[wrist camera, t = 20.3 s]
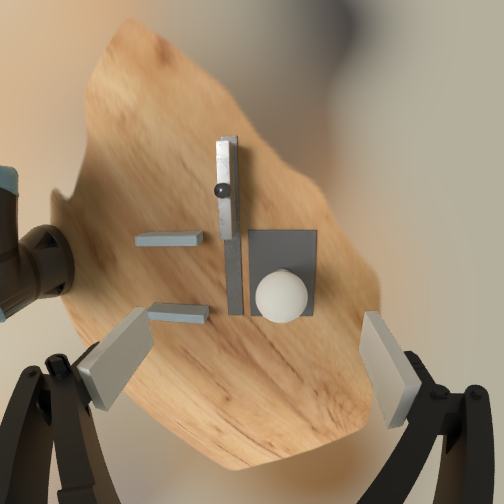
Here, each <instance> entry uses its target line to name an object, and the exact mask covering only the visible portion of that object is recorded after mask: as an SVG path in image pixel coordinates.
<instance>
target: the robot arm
mask: <svg viewBox="0 0 504 504" xmlns="http://www.w3.org/2000/svg"><path fill="white" fill-rule="evenodd" d="M18 197H19V193H18V173H17V171H16V169H14V168H13V167H8V166H0V323H2V322H4V321H5V320H6V319H7V318H9V317H10V316H12V315H14V314H15V313H17V312H18V311H20V310H21V309H23V308H24V307H26V306H27V305H29V304H31V303H32V302H34V301H35V300H37V299H43V298H52V297H57V296H60V295H62V294H63V293H65V292H66V291H68V290H69V288H70V287H71V285H72V282H73V279H74V262H73V257H72V253H71V250H70V248H69V245H68V243H67V241H66V240H65V238H64V236H63V235H62V234H61V233H60V232H59V231H58V230H57V229H56V228H55V227H53V226H51V225H41V226H37V227H35V228H33V229H31V230H30V231H29V232H28V233H27V234H26V235H25V236H24V237H22V238H21V239H20V240H19V241H18ZM153 345H154V342H153V338H152V333H151V328H150V324H149V319H148V313H147V308H145V307H135V308H134V309H133V310H132V311H131V312H130V313H129V314H128V315H127V316H126V317H125V318H124V319H123V320H122V321H121V322H120V323H119V324H118V325H117V326H116V327H115V328H114V329H113V330H112V331H111V332H110V333H109V334H108V335H107V336H106V337H105V338H104V339H103V340H102V341H101V342H97V343H95V344H93V345H91V346H90V347H89V348H88V349H87V350H86V352H84V353H83V354H82V356H80V357H79V358H78V359H77V360H76V361H75V362H74V363H73V364H72V365H71V366H70V363H69V361H68V358H67V356H66V355H64V354H54V355H52V356H50V357H48V358H47V359H46V361H45V365H46V367H47V369H48V372H49V374H43V373H42V371H41V369H40V367H38V366H29V367H27V368H26V369H24V370H23V372H22V373H21V375H20V378H19V380H18V382H17V384H16V387H15V389H14V391H13V394H12V396H11V399H10V401H9V403H8V406H7V409H6V411H5V414H4V417H3V420H2V422H1V425H0V504H48V485H49V473H50V463H51V454H52V448H53V441H54V444H55V451H56V459H57V465H58V470H59V476H60V481H61V485H62V489H61V490H58V492H57V496H58V502H59V504H121V503H120V500H119V498H118V496H117V493H116V491H115V488H114V485H113V483H112V480H111V478H110V475H109V472H108V469H107V466H106V463H105V461H104V457H103V454H102V451H101V447H100V444H99V440H98V437H97V433H96V430H95V426H94V421H93V418H92V413H91V409H90V407H89V405H88V404H89V403H90V401H91V400H92V401H93V404H94V406H95V407H96V408H98V409H101V410H104V411H108V410H109V409H110V407H111V406H112V404H113V403H114V401H115V400H116V398H117V397H118V395H119V394H120V393H121V391H122V390H123V388H124V387H125V385H126V384H127V382H128V381H129V379H130V378H131V377H132V375H133V374H134V372H135V371H136V369H137V368H138V366H139V365H140V364H141V362H142V361H143V359H144V358H145V357H146V355H147V354H148V352H149V351H150V349H151V348H152V347H153ZM358 351H359V353H360V356H361V358H362V361H363V363H364V366H365V368H366V371H367V374H368V376H369V379H370V382H371V384H372V387H373V390H374V392H375V395H376V397H377V400H378V403H379V406H380V409H381V412H382V414H383V417H384V420H385V423H386V426H387V429H390V428H395V427H400V426H402V425H403V424H404V421H405V419H406V418H407V420H408V423H409V424H408V426H407V428H406V430H405V432H404V433H403V435H402V437H401V439H400V441H399V442H398V444H397V446H396V447H395V449H394V451H393V452H392V454H391V456H390V457H389V459H388V460H387V462H386V463H385V465H384V466H383V468H382V470H381V471H380V473H379V474H378V475H377V477H376V478H375V480H374V481H373V482H372V484H371V485H370V487H369V488H368V489H367V491H366V492H365V493H364V495H363V496H362V497H361V498H360V500H359V501H358V502H357V504H403V503H404V501H405V499H406V498H407V496H408V494H409V493H410V491H411V489H412V487H413V485H414V484H415V482H416V480H417V478H418V476H419V474H420V472H421V470H422V468H423V466H424V464H425V462H426V460H427V458H428V455H429V453H430V451H431V449H432V446H433V444H434V442H435V440H436V437H437V435H443V444H442V453H441V462H440V468H439V475H438V481H437V486H436V491H435V496H434V500H433V504H493V494H494V471H495V461H494V436H493V425H492V415H491V408H490V401H489V395H488V392H487V390H486V389H485V388H483V387H482V386H480V385H471V386H468V387H467V389H466V390H465V392H464V393H463V394H462V393H459V394H458V393H450V391H449V390H448V389H447V388H446V387H445V386H442V385H439V384H436V383H435V382H434V380H433V378H432V377H431V375H430V374H429V372H428V371H427V369H426V368H425V366H424V364H423V363H422V361H421V360H420V358H419V357H418V355H416V354H414V353H413V352H412V351H404V352H403V351H402V349H401V348H400V346H399V344H398V343H397V341H396V340H395V338H394V336H393V335H392V333H391V332H390V330H389V328H388V327H387V325H386V324H385V322H384V321H383V319H382V318H381V316H380V315H379V313H378V312H377V311H365V315H364V321H363V327H362V333H361V338H360V344H359V349H358Z"/></svg>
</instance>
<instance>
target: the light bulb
mask: <svg viewBox="0 0 504 504" xmlns="http://www.w3.org/2000/svg"><path fill="white" fill-rule="evenodd" d="M255 297H256V305H257V307H258V309H259V311H260V313H261V314H262V315H263V316H264V317H265V318H266V319H268V320H270V321H272V322H275V323H287V322H290V321H293V320H295V319H296V318H298V317H299V316H300V315H301V314H302V312H303V311H304V309H305V307H306V305H307V300H308V293H307V289H306V287H305V285H304V283H303V282H302V280H301V279H300V278H299V277H298V276H296V275H294V274H292V273H290V272H289V271H288V270H286V269H278V270H276V271H275V272H274V273H271V274H269V275H267V276H266V277H265V278H264V279H263V280H262V281H261V282H260V284H259V285H258V287H257V290H256V296H255Z"/></svg>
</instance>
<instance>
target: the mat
mask: <svg viewBox="0 0 504 504" xmlns="http://www.w3.org/2000/svg"><path fill="white" fill-rule="evenodd" d="M248 237H249V270H250V303H251V316H263V315H262V314H261V313H260V311H259V309H258V307H257V305H256V297H255V296H256V290H257V287H258V285H259V284H260V282H261V281H262V280H263V279H264V278H265V277H266V276H267V275H269V274H271V273H274V272H275V271H276V270H278V269H286V270H288V271H289V272H290V273H292V274H294V275H296V276H298V277H299V278H300V279H301V280H302V282H303V283H304V285H305V287H306V289H307V293H308V300H307V305H306V307H305V309H304V311H303V312H302V314H301V315H300V316H312V315H313V300H314V282H315V261H316V230H248Z"/></svg>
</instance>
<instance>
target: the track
mask: <svg viewBox="0 0 504 504" xmlns="http://www.w3.org/2000/svg"><path fill="white" fill-rule="evenodd" d="M220 138H221V141H228V140H229V141H230V142H231V143H233V144H234V158H235V191H236V221H237V233H236V235H235V236H234V237H233V239H224V247H225V266H226V283H227V299H228V314H229V315H243V299H242V275H241V249H240V221H239V190H238V155H237V136H227V137H220Z"/></svg>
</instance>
